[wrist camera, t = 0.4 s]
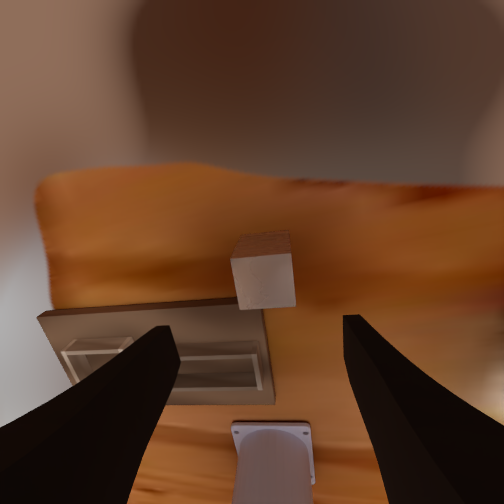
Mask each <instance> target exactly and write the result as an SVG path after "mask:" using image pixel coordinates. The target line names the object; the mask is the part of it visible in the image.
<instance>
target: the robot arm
mask: <svg viewBox="0 0 504 504" xmlns="http://www.w3.org/2000/svg"><path fill="white" fill-rule="evenodd" d="M343 347H344V360H345V364H346V369H347V373H348V377H349V381H350V384H351V387H352V390H353V393H354V395H355V398H356V401H357V404H358V407H359V409H360V412H361V415H362V418H363V420H364V423H365V426H366V429H367V432H368V434H369V437H370V440H371V443H372V445H373V448H374V452H375V455H376V458H377V461H378V464H379V468H380V472H381V475H382V479H383V483H384V487H385V490H386V494H387V498H388V501H389V504H504V426H503V425H502V424H500V423H499V422H497V421H495V420H494V419H492V418H491V417H489V416H487V415H486V414H484V413H482V412H481V411H479V410H478V409H476V408H474V407H473V406H471V405H470V404H468V403H467V402H465V401H464V400H462V399H461V398H459V397H458V396H456V395H455V394H453V393H452V392H450V391H449V390H448V389H446V388H445V387H443V386H442V385H441V384H439V383H438V382H436V381H435V380H434V379H432V378H431V377H429V376H428V375H427V374H426V373H424V372H423V371H422V370H421V369H419V368H418V367H417V366H416V365H414V364H413V363H412V362H411V361H409V360H408V359H407V358H406V357H405V356H403V355H402V354H401V353H400V352H399V351H398V350H397V349H396V348H394V347H393V346H392V345H391V344H390V343H389V342H388V341H387V340H386V339H384V338H383V337H382V336H381V335H380V334H379V333H378V332H377V331H376V330H375V329H374V328H373V327H372V326H371V325H370V324H369V323H368V322H367V321H366V320H365V319H364V318H363V317H362V316H361V315H359V314H358V315H343ZM180 364H181V360H180V357H179V354H178V350H177V347H176V344H175V341H174V338H173V334H172V331H171V328H170V325H162V326H155V327H154V328H152V329H151V330H149V331H148V332H147V333H145V334H144V335H143V336H141V337H140V338H139V339H137V340H136V341H135V342H133V343H132V344H131V345H129V346H128V347H127V348H126V349H124V350H123V351H122V352H120V353H119V354H118V355H116V356H115V357H114V358H112V359H111V360H110V361H108V362H107V363H105V364H104V365H103V366H101V367H100V368H98V369H97V370H96V371H94V372H93V373H91V374H90V375H89V376H87V377H86V378H84V379H83V380H81V381H80V382H78V383H77V384H75V385H74V386H72V387H71V388H69V389H67V390H66V391H64V392H63V393H61V394H59V395H58V396H56V397H55V398H53V399H51V400H50V401H48V402H46V403H45V404H43V405H41V406H39V407H37V408H35V409H34V410H32V411H30V412H28V413H27V414H25V415H23V416H21V417H19V418H17V419H16V420H14V421H12V422H10V423H8V424H6V425H4V426H2V427H0V504H127V501H128V498H129V495H130V492H131V489H132V486H133V483H134V480H135V477H136V474H137V472H138V469H139V466H140V463H141V460H142V457H143V455H144V452H145V450H146V447H147V445H148V443H149V440H150V438H151V436H152V434H153V431H154V429H155V427H156V425H157V423H158V420H159V418H160V416H161V414H162V412H163V409H164V407H165V405H166V403H167V400H168V398H169V396H170V394H171V391H172V389H173V387H174V384H175V381H176V378H177V375H178V371H179V368H180ZM231 431H232V435H233V439H234V443H235V447H236V451H237V455H238V462H237V470H236V477H235V484H234V491H233V498H232V504H313V495H312V485H313V484H315V473H314V462H313V451H312V440H311V429H310V425H309V424H308V423H275V422H234V423H232V424H231Z"/></svg>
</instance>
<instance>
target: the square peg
mask: <svg viewBox="0 0 504 504" xmlns="http://www.w3.org/2000/svg"><path fill="white" fill-rule="evenodd" d="M230 261H231V266H232V272H233V277H234V282H235V288H236V293H237V298H238V303H239V309H240V310H248V309H264V308H280V307H296V299H295V288H294V278H293V267H292V257H291V246H290V236H289V230H283V231H273V232H264V233H254V234H245V235H241V236H240V239H239V241H238V243H237V245H236V247H235V249H234V252H233V254H232V256H231V258H230Z"/></svg>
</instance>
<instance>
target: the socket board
mask: <svg viewBox="0 0 504 504" xmlns="http://www.w3.org/2000/svg"><path fill="white" fill-rule="evenodd" d="M37 319H38V321H39V323H40V325H41V327H42V329H43V331H44V332H45V334H46V336H47V338H48V340H49V342H50V344H51V346H52V348H53V350H54V351H55V353H56V355H57V357H58V359H59V361H60V363H61V364H62V366H63V368H64V370H65V372H66V374H67V376H68V378H69V379H70V382H71V383H72V385H73V386H74V385H75V384H77V383H78V382H80V381H81V380H83V379H84V378H86V377H87V376H89V375H90V374H91V373H93V372H94V371H96V370H97V369H98V368H100V367H101V366H103V365H104V364H105V363H107V362H108V361H110V360H111V359H112V358H114V357H115V356H116V355H118V354H119V353H120V352H122V351H123V350H124V349H126V348H127V347H128V346H129V345H131V344H132V343H133V342H135V341H136V340H137V339H139V338H140V337H141V336H143V335H144V334H145V333H147V332H148V331H149V330H151V329H152V328H154V327H155V326H162V325H170V328H171V331H172V334H173V338H174V341H175V344H176V347H177V350H178V354H179V357H180V360H181V364H180V368H179V371H178V375H177V378H176V381H175V384H174V387H173V389H172V391H171V394H170V396H169V398H168V400H167V403H166V405H275V396H276V395H275V388H274V382H273V375H272V368H271V362H270V355H269V349H268V342H267V335H266V329H265V322H264V316H263V309H248V310H240V309H239V303H238V298H223V299H209V300H194V301H179V302H165V303H150V304H136V305H121V306H107V307H92V308H78V309H63V310H50V311H45V312H43V313H42V314H40V315H39V316H37Z"/></svg>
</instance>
